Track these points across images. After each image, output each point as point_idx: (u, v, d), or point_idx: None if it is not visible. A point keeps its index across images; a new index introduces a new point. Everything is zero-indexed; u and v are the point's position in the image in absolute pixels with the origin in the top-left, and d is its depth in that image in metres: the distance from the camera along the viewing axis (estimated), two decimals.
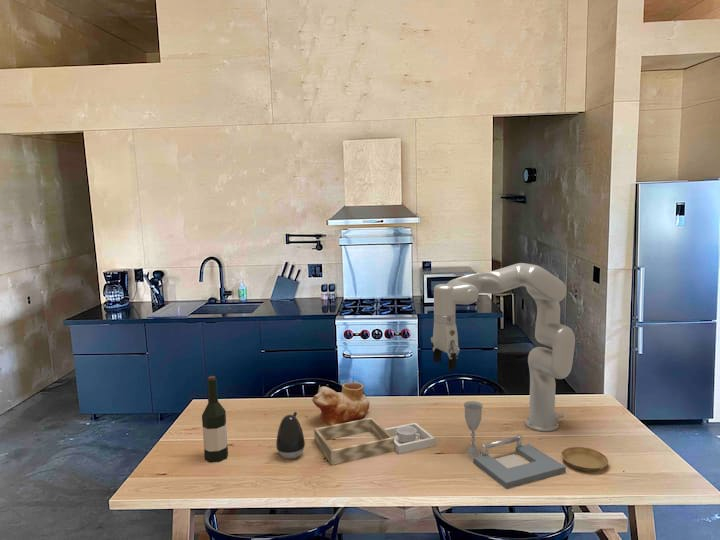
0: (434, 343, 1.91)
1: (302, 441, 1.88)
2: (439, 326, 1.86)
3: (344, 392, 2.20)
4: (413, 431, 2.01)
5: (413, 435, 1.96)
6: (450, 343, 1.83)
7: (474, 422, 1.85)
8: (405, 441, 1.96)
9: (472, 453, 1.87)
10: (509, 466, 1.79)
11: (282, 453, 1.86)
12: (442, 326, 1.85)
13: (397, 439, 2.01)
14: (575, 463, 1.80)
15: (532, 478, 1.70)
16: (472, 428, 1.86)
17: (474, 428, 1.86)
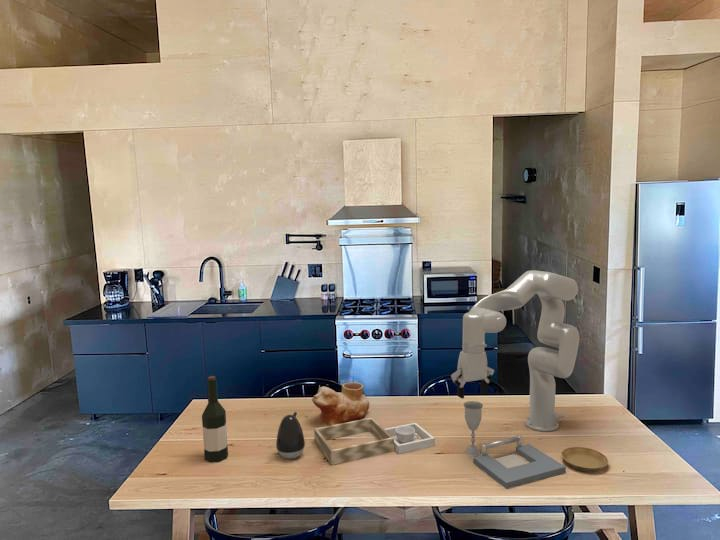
0: (467, 377, 1.82)
1: (302, 441, 1.88)
2: (478, 356, 1.82)
3: (344, 392, 2.20)
4: (411, 431, 2.01)
5: (412, 435, 1.96)
6: None
7: (474, 422, 1.85)
8: (404, 441, 1.97)
9: (472, 453, 1.87)
10: (509, 466, 1.79)
11: (282, 453, 1.86)
12: (482, 354, 1.83)
13: (395, 439, 2.01)
14: (575, 463, 1.80)
15: (532, 478, 1.70)
16: (472, 428, 1.86)
17: (474, 428, 1.86)
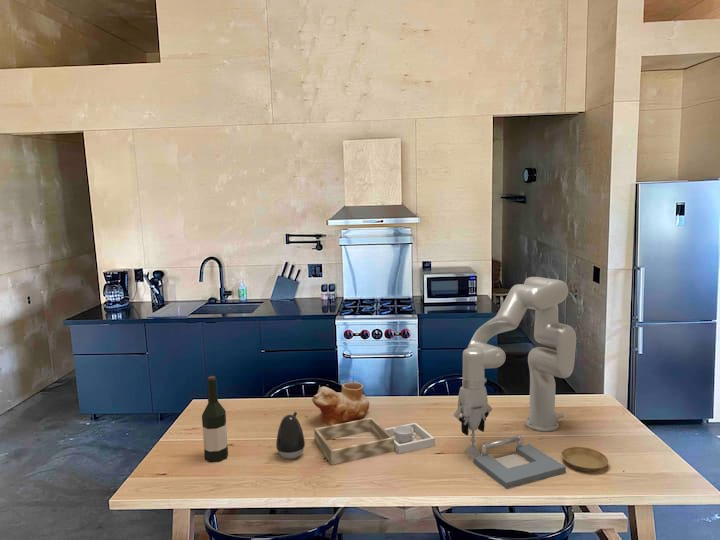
0: (468, 413, 1.84)
1: (302, 441, 1.88)
2: (478, 391, 1.84)
3: (344, 392, 2.20)
4: (410, 430, 2.01)
5: (410, 434, 1.97)
6: None
7: (474, 422, 1.85)
8: (402, 440, 1.97)
9: (472, 453, 1.87)
10: (509, 466, 1.79)
11: (282, 453, 1.86)
12: (482, 389, 1.85)
13: (394, 438, 2.01)
14: (575, 463, 1.80)
15: (532, 478, 1.70)
16: (472, 428, 1.86)
17: (474, 428, 1.86)
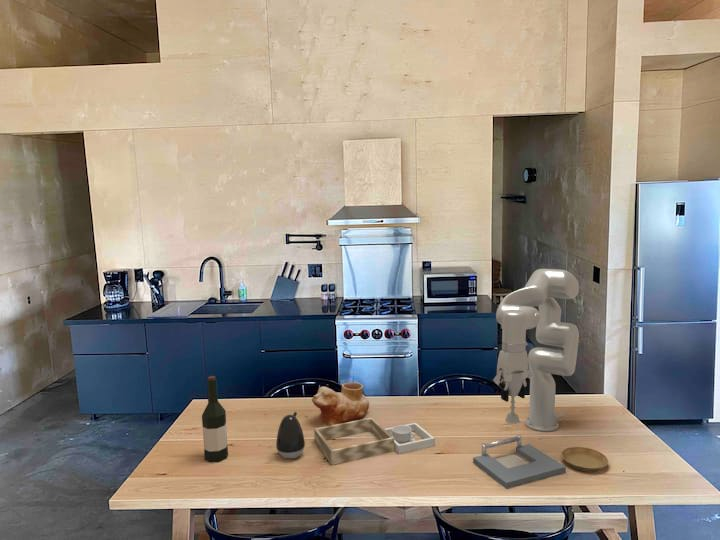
0: (508, 378, 1.74)
1: (302, 441, 1.88)
2: (520, 355, 1.74)
3: (344, 392, 2.20)
4: (408, 430, 2.02)
5: (408, 434, 1.97)
6: None
7: (515, 387, 1.75)
8: (400, 440, 1.97)
9: (512, 421, 1.78)
10: (509, 466, 1.79)
11: (282, 453, 1.86)
12: (523, 353, 1.75)
13: None
14: (575, 463, 1.80)
15: (532, 478, 1.70)
16: (512, 394, 1.77)
17: (514, 394, 1.77)
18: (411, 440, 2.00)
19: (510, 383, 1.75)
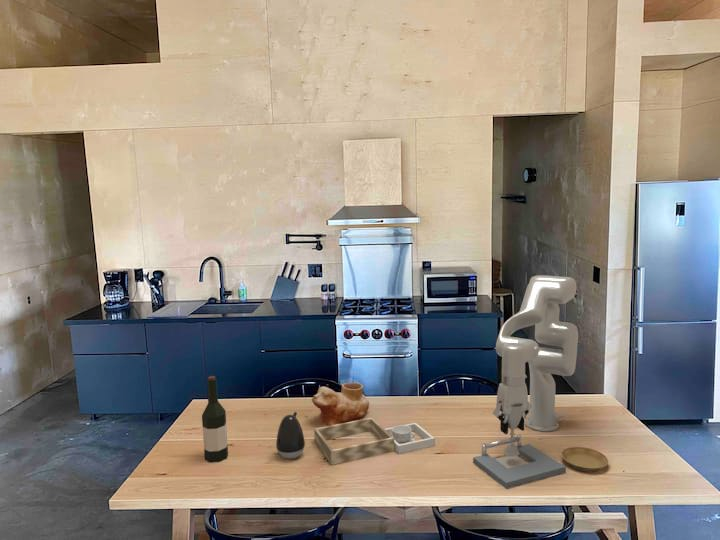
0: (508, 410, 1.76)
1: (302, 441, 1.88)
2: (519, 388, 1.76)
3: (344, 392, 2.20)
4: (408, 430, 2.02)
5: (408, 434, 1.97)
6: None
7: (514, 420, 1.76)
8: (400, 440, 1.97)
9: (511, 453, 1.79)
10: (509, 466, 1.79)
11: (282, 453, 1.86)
12: (523, 386, 1.77)
13: None
14: (575, 463, 1.80)
15: (532, 478, 1.70)
16: (512, 426, 1.78)
17: (514, 426, 1.78)
18: (411, 440, 2.00)
19: (509, 416, 1.77)
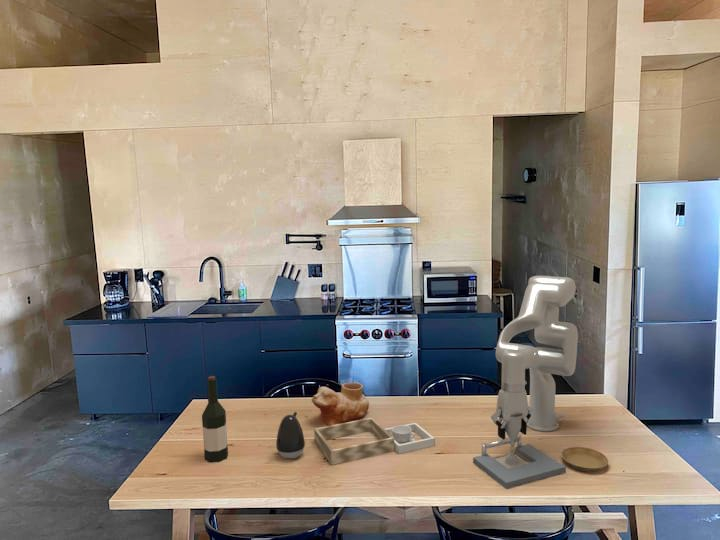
0: (508, 417, 1.76)
1: (302, 441, 1.88)
2: (519, 395, 1.76)
3: (343, 392, 2.20)
4: (408, 430, 2.02)
5: (408, 434, 1.97)
6: None
7: (514, 430, 1.77)
8: (400, 440, 1.97)
9: (512, 462, 1.80)
10: (509, 466, 1.79)
11: (282, 453, 1.86)
12: (523, 393, 1.77)
13: None
14: (575, 463, 1.80)
15: (532, 478, 1.70)
16: (512, 436, 1.79)
17: (514, 436, 1.79)
18: (411, 440, 2.00)
19: (509, 426, 1.77)
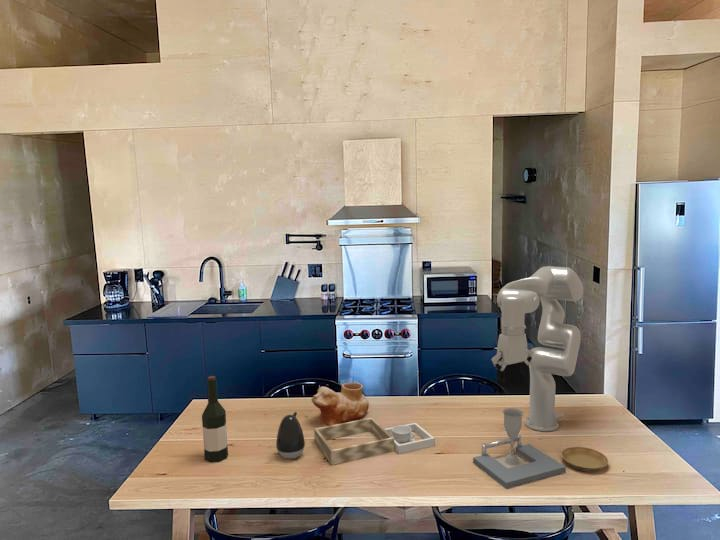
0: (508, 360, 1.79)
1: (302, 441, 1.88)
2: (519, 338, 1.79)
3: (343, 392, 2.20)
4: (408, 430, 2.02)
5: (408, 434, 1.97)
6: None
7: (514, 430, 1.77)
8: (400, 440, 1.97)
9: (512, 462, 1.80)
10: (509, 466, 1.79)
11: (282, 453, 1.86)
12: (522, 336, 1.80)
13: None
14: (575, 463, 1.80)
15: (532, 478, 1.70)
16: (512, 436, 1.79)
17: (514, 436, 1.79)
18: (411, 440, 2.00)
19: (510, 426, 1.77)
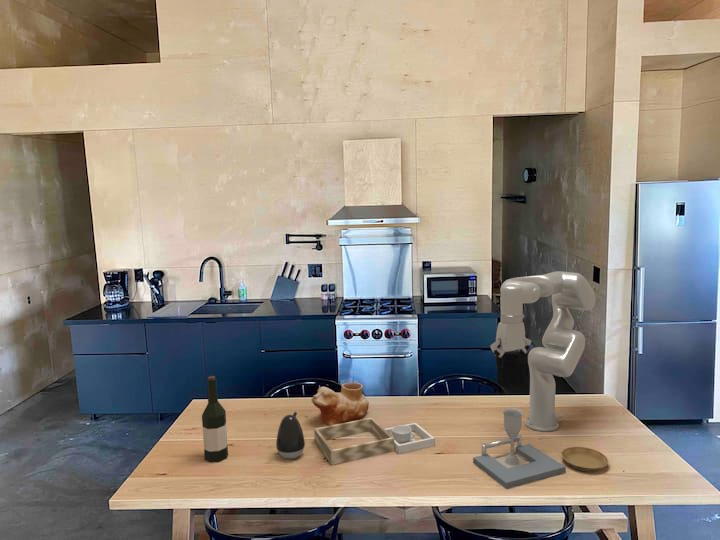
0: (507, 347, 1.87)
1: (302, 441, 1.88)
2: (517, 326, 1.87)
3: (343, 392, 2.20)
4: (408, 430, 2.02)
5: (408, 434, 1.97)
6: None
7: (514, 430, 1.77)
8: (400, 440, 1.97)
9: (512, 462, 1.80)
10: (509, 466, 1.79)
11: (282, 453, 1.86)
12: (520, 324, 1.88)
13: None
14: (575, 463, 1.80)
15: (532, 478, 1.70)
16: (512, 436, 1.79)
17: (514, 436, 1.79)
18: (411, 440, 2.00)
19: (510, 426, 1.77)
